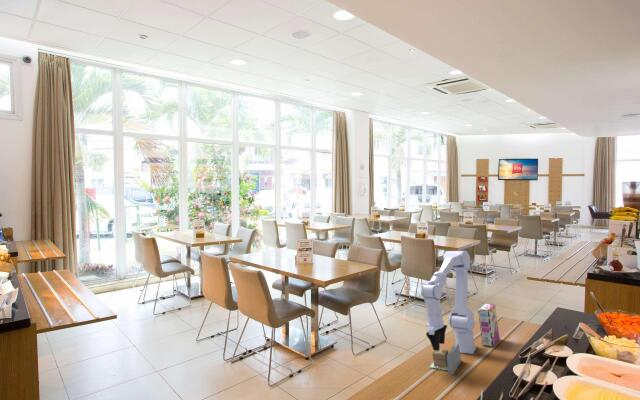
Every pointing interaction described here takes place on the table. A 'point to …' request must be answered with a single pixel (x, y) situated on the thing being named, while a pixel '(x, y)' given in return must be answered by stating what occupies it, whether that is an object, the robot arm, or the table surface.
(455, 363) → the slate screen
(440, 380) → the table surface
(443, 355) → the walnut letter cube
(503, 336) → the table surface
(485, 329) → the candy bar box
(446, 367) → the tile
